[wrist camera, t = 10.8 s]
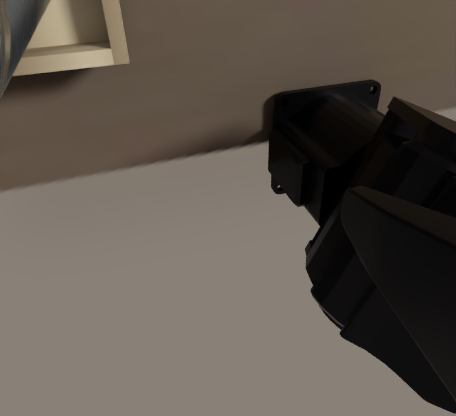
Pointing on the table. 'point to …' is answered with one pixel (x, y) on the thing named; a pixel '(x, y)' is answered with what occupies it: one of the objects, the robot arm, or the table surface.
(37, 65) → the square wooden tray
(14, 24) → the canister
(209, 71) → the table surface
